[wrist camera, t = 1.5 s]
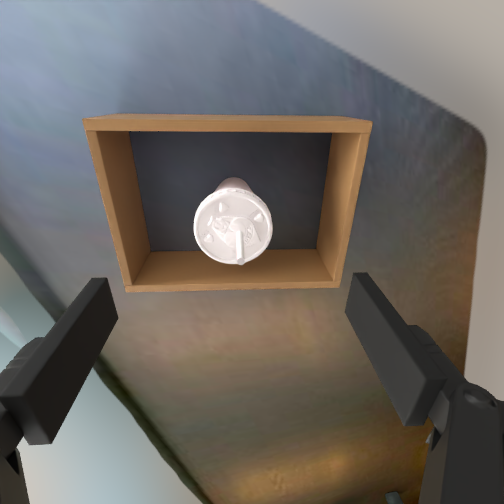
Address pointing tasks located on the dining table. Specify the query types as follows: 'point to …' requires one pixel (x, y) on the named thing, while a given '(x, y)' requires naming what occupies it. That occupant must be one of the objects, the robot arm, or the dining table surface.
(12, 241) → the dining table surface
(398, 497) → the dark teal curved piece
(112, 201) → the wooden box
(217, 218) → the smoothie
